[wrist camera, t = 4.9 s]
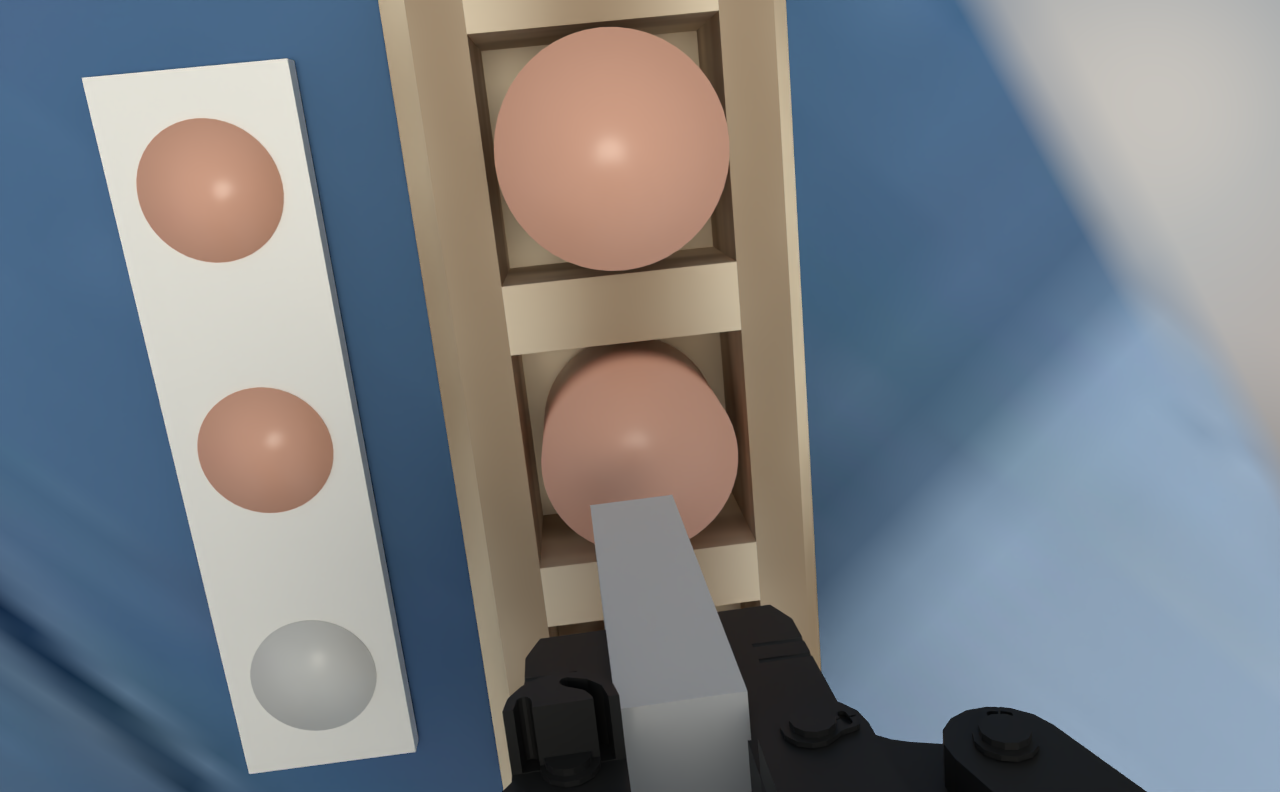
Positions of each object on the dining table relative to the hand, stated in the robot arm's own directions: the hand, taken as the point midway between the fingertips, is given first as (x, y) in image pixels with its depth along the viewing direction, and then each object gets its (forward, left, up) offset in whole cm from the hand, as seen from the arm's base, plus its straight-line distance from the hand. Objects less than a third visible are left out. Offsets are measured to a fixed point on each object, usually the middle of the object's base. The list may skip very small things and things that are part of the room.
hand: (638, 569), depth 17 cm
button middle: (0, 0, -9) cm, 8 cm away
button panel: (0, 0, -10) cm, 10 cm away
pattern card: (-10, 0, -10) cm, 14 cm away
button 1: (0, +7, -7) cm, 10 cm away
